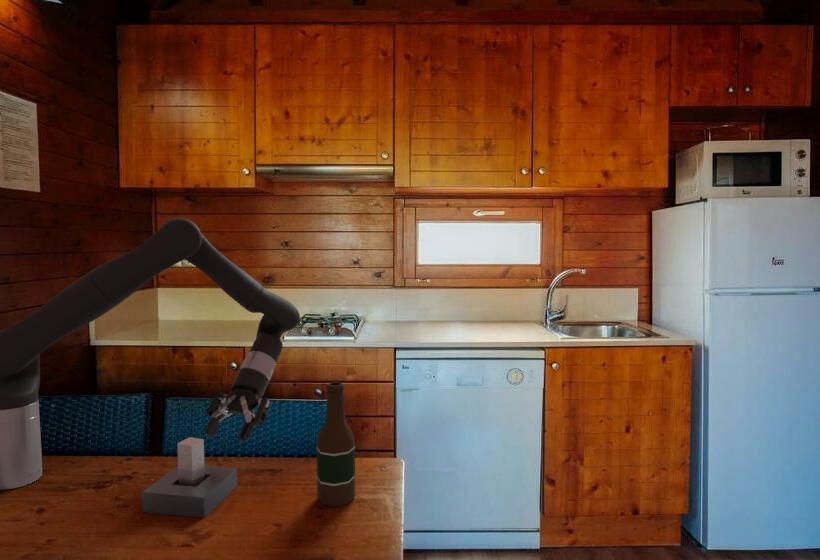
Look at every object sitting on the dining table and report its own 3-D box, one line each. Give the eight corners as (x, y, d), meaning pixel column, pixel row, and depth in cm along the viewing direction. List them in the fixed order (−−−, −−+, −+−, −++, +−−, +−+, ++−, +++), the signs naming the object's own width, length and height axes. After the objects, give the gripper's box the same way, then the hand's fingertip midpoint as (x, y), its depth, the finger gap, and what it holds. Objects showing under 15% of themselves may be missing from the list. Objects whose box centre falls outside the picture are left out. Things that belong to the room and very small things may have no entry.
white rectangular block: (179, 500, 109) (177, 443, 108) (191, 492, 112) (189, 437, 111) (193, 503, 108) (191, 445, 107) (205, 495, 111) (203, 439, 110)
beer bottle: (309, 498, 110) (307, 383, 108) (338, 485, 115) (337, 376, 113) (333, 512, 105) (332, 391, 102) (363, 497, 110) (362, 383, 108)
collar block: (142, 511, 104) (141, 492, 104) (181, 481, 117) (180, 463, 117) (204, 517, 102) (203, 497, 102) (236, 486, 115) (236, 468, 115)
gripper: (222, 364, 128) (189, 427, 118) (273, 369, 123) (244, 435, 113) (237, 380, 133) (206, 441, 124) (286, 385, 129) (259, 449, 119)
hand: (224, 438), depth 119 cm, fingers open, 8 cm apart
